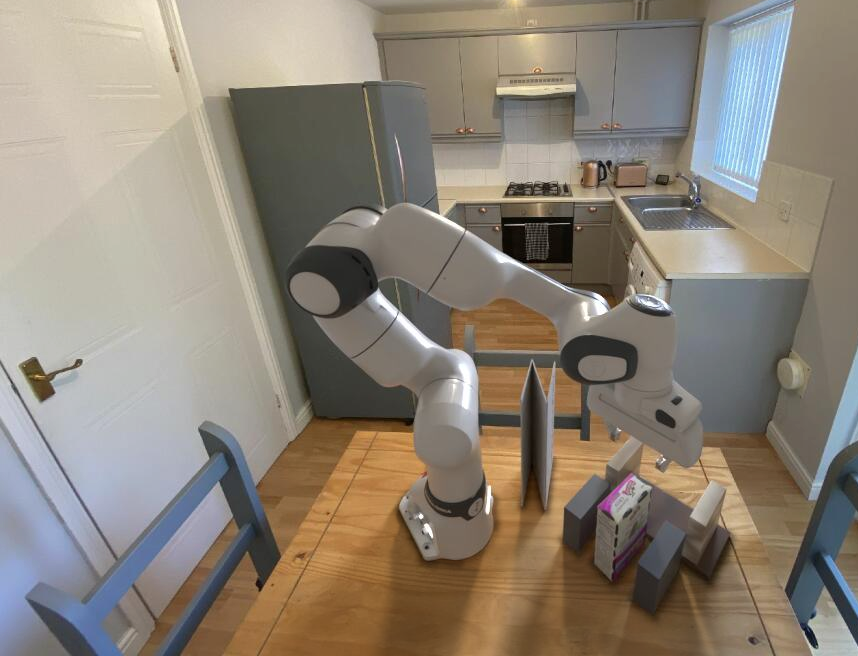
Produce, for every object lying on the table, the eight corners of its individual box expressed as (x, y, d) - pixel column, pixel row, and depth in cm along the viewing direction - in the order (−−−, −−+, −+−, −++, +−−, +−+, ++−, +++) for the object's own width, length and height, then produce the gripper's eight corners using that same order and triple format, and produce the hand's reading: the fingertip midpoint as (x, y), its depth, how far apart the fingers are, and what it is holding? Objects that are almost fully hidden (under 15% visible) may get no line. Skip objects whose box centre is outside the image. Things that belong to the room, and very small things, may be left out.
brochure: (545, 510, 94) (547, 403, 82) (521, 506, 95) (520, 399, 83) (552, 460, 106) (555, 361, 95) (531, 457, 107) (531, 359, 96)
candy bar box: (624, 527, 90) (631, 471, 83) (645, 544, 86) (654, 487, 80) (591, 563, 83) (596, 505, 76) (612, 583, 79) (619, 524, 73)
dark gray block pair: (562, 540, 87) (563, 506, 83) (592, 505, 94) (594, 473, 91) (652, 615, 74) (659, 579, 70) (678, 568, 82) (686, 533, 78)
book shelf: (592, 498, 96) (595, 458, 91) (619, 467, 104) (623, 429, 99) (708, 581, 79) (719, 537, 75) (729, 536, 87) (741, 494, 83)
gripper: (580, 370, 74) (579, 431, 79) (693, 431, 59) (682, 500, 65) (601, 356, 77) (599, 415, 83) (713, 409, 63) (701, 476, 69)
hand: (636, 453), depth 74 cm, fingers open, 8 cm apart
